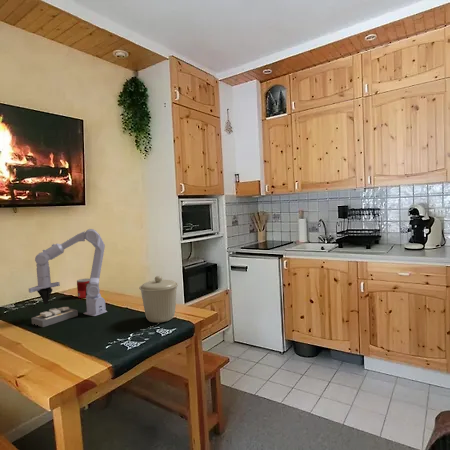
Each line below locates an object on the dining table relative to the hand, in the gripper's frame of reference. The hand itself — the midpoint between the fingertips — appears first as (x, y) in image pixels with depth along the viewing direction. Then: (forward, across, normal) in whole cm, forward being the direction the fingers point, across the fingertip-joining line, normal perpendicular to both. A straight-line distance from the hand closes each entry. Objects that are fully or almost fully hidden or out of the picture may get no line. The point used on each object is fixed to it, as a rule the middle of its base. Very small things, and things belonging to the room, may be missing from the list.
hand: (46, 303), depth 167 cm
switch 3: (+5, -7, +3) cm, 9 cm away
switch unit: (+9, -2, +3) cm, 10 cm away
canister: (+9, -26, +53) cm, 59 cm away
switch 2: (+5, -2, +3) cm, 6 cm away
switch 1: (+5, +2, +3) cm, 6 cm away
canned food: (+9, -37, -22) cm, 44 cm away
